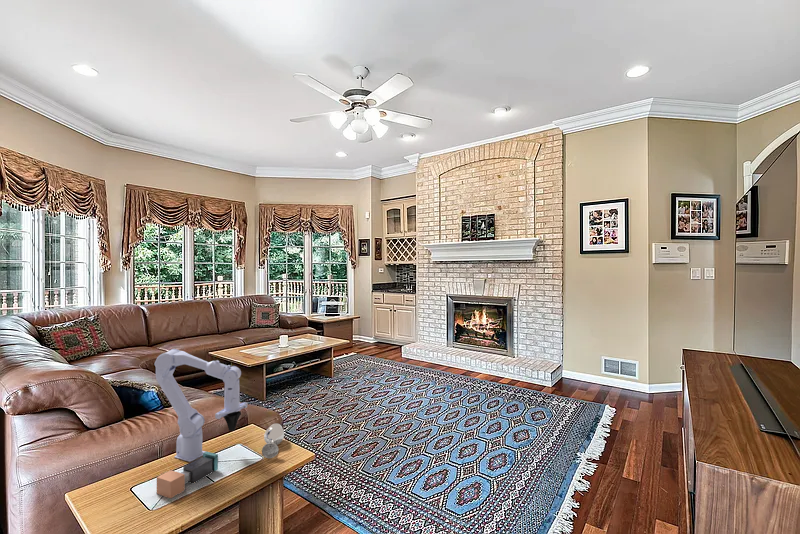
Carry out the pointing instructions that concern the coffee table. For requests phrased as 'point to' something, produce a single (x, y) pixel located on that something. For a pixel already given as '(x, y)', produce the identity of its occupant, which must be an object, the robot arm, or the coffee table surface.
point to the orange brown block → (170, 483)
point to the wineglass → (272, 440)
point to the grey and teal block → (208, 455)
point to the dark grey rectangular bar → (199, 468)
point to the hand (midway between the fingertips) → (231, 430)
